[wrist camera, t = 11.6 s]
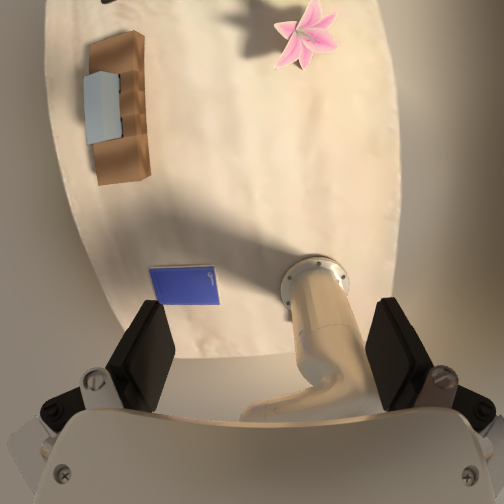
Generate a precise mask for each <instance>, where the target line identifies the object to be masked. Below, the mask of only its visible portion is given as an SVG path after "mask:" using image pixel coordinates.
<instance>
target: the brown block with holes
mask: <svg viewBox="0 0 504 504" xmlns="http://www.w3.org/2000/svg"><path fill="white" fill-rule="evenodd" d="M144 37H145V36H143V35H142V34H140V33H138V32H136V31H134V30H133V31H130V32H126V33H123V34H120V35H117V36H114V37H111V38H108V39H105V40H103V41H100V42H97V43H95V44H92V45H90V60H89V75H91V74H94V73H97V72H99V71H103V72H108V73H113V74H118V78H120V85H121V93H119V107H120V119H122V125H123V138H118V139H111V140H106V141H102V142H97V143H93V150H94V158H95V166H96V173H97V179H98V186H100V185H108V184H116V183H124V182H133V181H141V180H143V179H145V178H147V177H149V176H150V175H151V169H150V160H149V149H148V138H147V124H146V108H145V82H144Z"/></svg>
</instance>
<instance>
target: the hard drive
mask: <svg viewBox="0 0 504 504" xmlns="http://www.w3.org/2000/svg"><path fill="white" fill-rule="evenodd" d="M149 271H150V275H151V278H152V282H153V285H154V289H155V292H156V295H157V299H158V301H159V303H160V304H162V305H219V304H221V298H220V293H219V287H218V281H217V275H216V268H215V265H192V266H167V267H150V269H149Z"/></svg>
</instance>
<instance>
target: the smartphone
mask: <svg viewBox="0 0 504 504" xmlns="http://www.w3.org/2000/svg"><path fill="white" fill-rule="evenodd" d="M114 1H116V0H101V2H102V3H103V4H109V3H112V2H114Z"/></svg>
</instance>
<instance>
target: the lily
mask: <svg viewBox="0 0 504 504" xmlns="http://www.w3.org/2000/svg"><path fill="white" fill-rule="evenodd" d="M337 16H338V12H336V13H332V14H328V15H325V16H323V10H322V6H321V3H320V1H319V0H310V2H309V4H308V6H307V9H306V11H305V13H304V15H303V17H302V18H301V20H300V21H289V22H280V23H276V24H274V27H275V28H276V29H277V31H278V32H279V33H280V34H281V35H282V36H283V37H284V38H285V39H287V40H288V41H289V42H288V44H287V46H286V47H285V49H284V51H283V53H282V54H281V56H280V57H279V59H278V60H277V62H276V63H275V65H274V69H279V68H282V67H285V66H287V65H289V64H292V63H293V62H295V61H297V60H298V59H299V62H300V65H301V67H302V69H303V70H305V69H306V68H307V66H308V65H309V63H310V61H311V59H312V57H313V54H314V52H315V53H330V52H334V51H336V50H337V49H338V44H337V41H336V40H335V38H334V37H333V35H332V34H331V33H330V32H329V31H327V30H328V29H329V28H330V27H331V25H332V24H333V23H334V21H335V19H336V18H337Z"/></svg>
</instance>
